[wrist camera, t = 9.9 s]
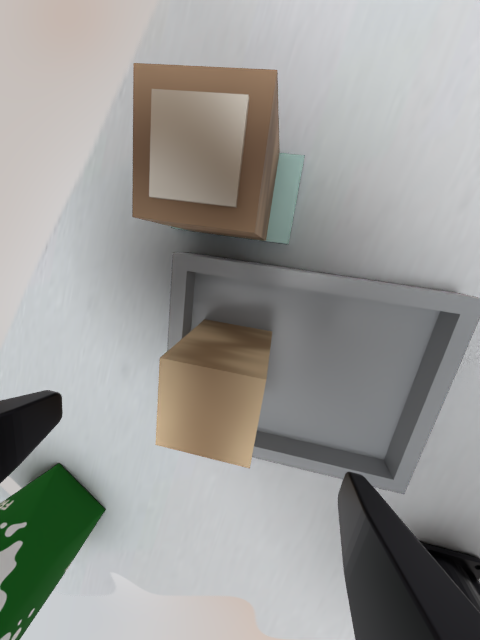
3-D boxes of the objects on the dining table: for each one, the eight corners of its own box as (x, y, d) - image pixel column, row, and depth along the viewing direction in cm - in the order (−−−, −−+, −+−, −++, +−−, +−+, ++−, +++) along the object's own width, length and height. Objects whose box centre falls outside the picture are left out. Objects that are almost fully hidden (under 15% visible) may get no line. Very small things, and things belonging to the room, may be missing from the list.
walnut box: (265, 240, 16) (253, 232, 9) (192, 231, 17) (129, 216, 10) (279, 153, 15) (277, 65, 8) (198, 146, 15) (130, 58, 8)
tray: (456, 292, 16) (487, 299, 13) (389, 465, 20) (404, 494, 17) (187, 252, 18) (172, 252, 16) (175, 415, 22) (162, 435, 19)
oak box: (272, 331, 18) (266, 379, 11) (261, 392, 19) (249, 468, 12) (204, 319, 18) (159, 357, 11) (198, 379, 20) (155, 444, 13)
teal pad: (303, 160, 15) (304, 155, 14) (288, 244, 17) (288, 243, 16) (180, 148, 16) (175, 143, 15) (175, 228, 18) (170, 227, 17)
